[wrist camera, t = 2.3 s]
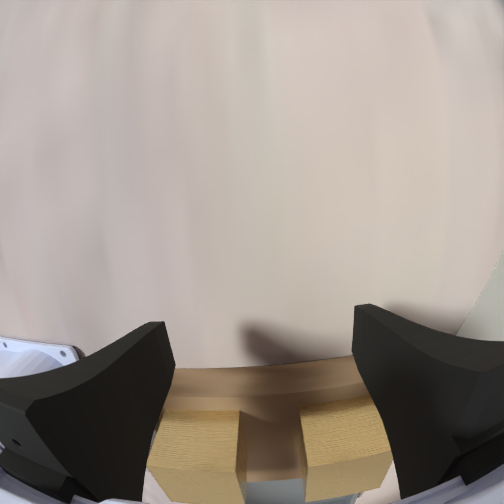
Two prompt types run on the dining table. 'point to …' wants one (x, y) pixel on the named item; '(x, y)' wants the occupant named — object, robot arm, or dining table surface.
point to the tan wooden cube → (342, 448)
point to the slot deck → (266, 405)
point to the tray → (286, 493)
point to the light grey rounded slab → (488, 309)
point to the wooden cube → (200, 457)
